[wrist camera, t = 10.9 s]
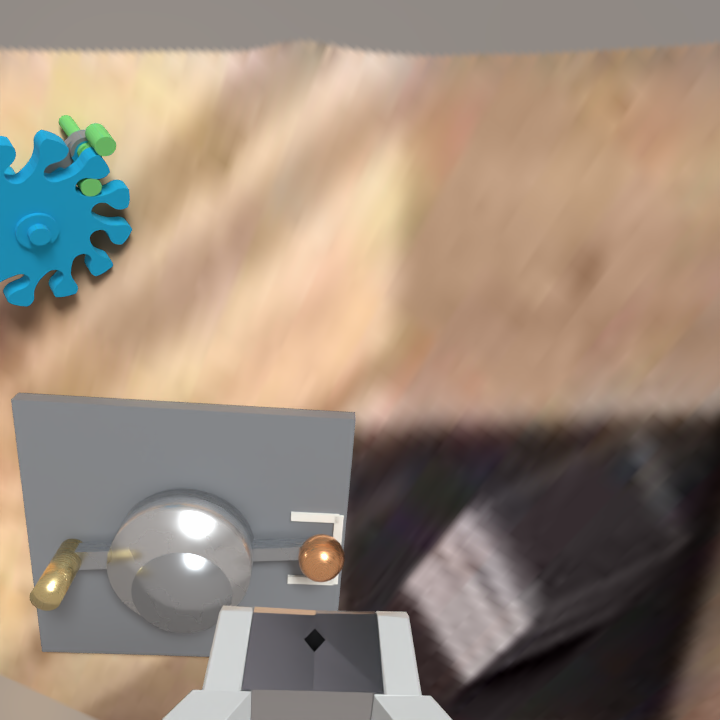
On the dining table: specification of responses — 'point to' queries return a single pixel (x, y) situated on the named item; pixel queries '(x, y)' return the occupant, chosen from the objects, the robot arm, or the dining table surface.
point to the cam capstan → (182, 560)
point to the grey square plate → (174, 471)
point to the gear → (57, 209)
